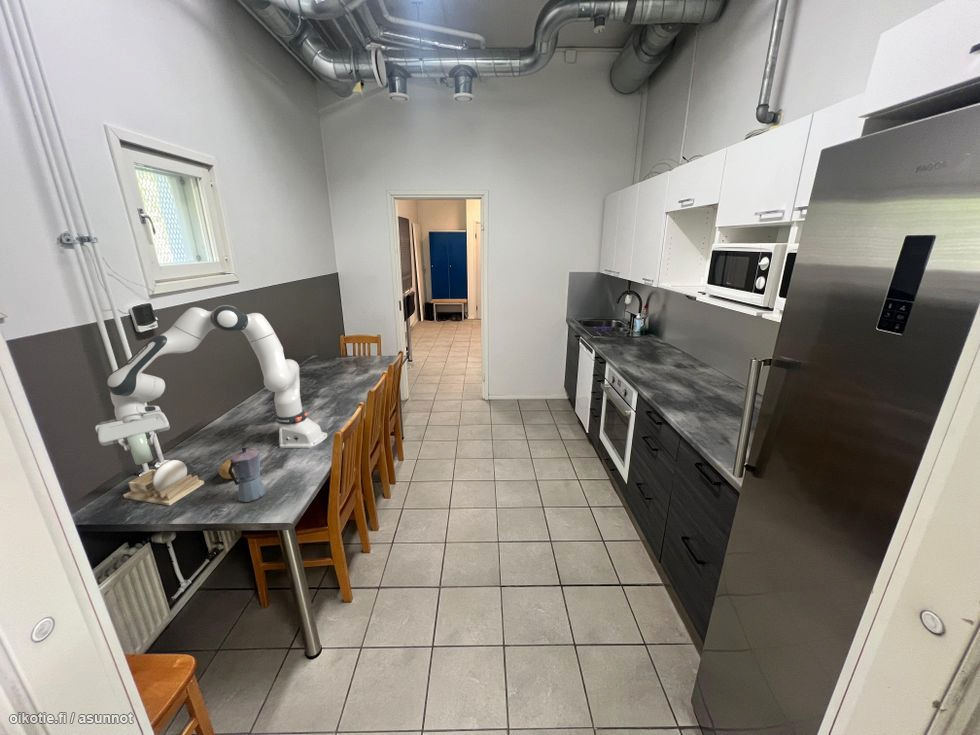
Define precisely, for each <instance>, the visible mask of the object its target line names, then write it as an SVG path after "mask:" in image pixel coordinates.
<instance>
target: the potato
mask: <svg viewBox="0 0 980 735" xmlns="http://www.w3.org/2000/svg"><path fill="white" fill-rule="evenodd" d="M230 464H231V461H230V458H228V459H227V460H225V461H224V462H223V463H222V464H221V465H220V467H219V469H218V474H219V476H220V477H221V478H223V479H227V480H230V479H232V478H231V476H230V474H229V472H228V470H229V468H230ZM232 472H233V473H234V476H235V478H236V479H238V478H237V476H236V475H235V472H234V469H233V468H232ZM232 480H233V479H232Z"/></svg>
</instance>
